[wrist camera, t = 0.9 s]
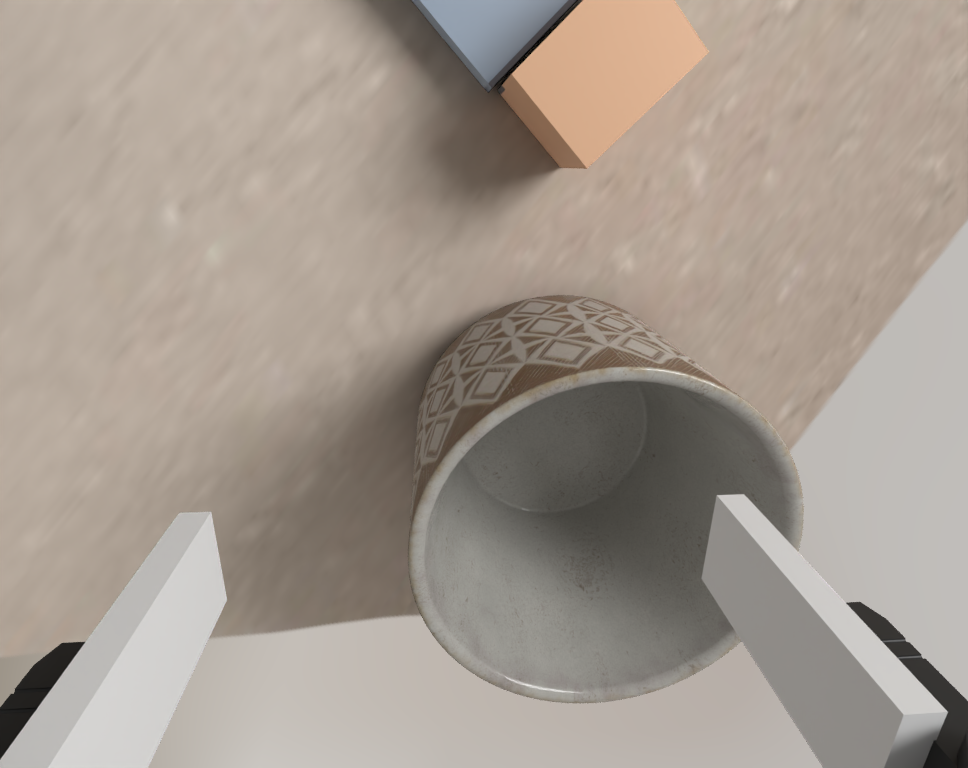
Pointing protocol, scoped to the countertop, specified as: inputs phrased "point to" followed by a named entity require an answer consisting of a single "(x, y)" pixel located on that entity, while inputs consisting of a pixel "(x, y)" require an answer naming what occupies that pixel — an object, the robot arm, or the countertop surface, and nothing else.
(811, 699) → the robot arm
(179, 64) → the countertop surface
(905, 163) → the countertop surface
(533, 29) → the blue-grey slab
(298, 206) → the countertop surface
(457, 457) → the planter
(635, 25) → the block
